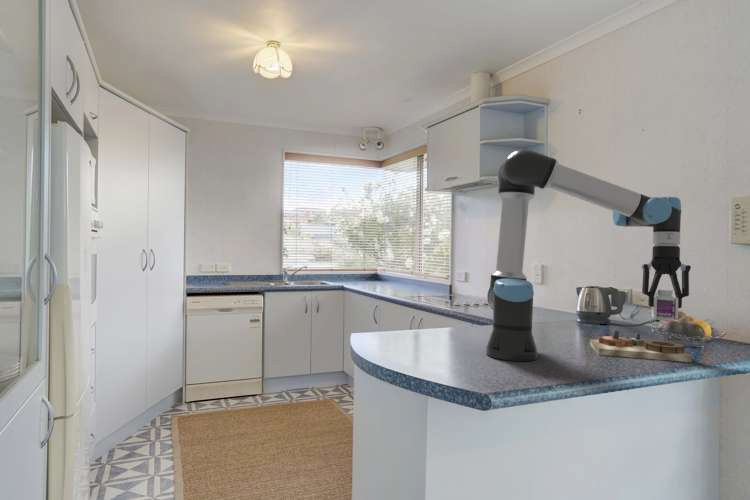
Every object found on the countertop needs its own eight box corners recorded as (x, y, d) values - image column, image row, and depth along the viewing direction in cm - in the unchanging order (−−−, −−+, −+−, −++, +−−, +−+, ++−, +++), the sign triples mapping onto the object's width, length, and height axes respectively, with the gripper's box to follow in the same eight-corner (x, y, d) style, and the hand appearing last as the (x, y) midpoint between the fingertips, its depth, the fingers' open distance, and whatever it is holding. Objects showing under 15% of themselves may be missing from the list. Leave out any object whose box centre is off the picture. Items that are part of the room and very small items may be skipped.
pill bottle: (677, 321, 148) (678, 290, 148) (658, 320, 149) (659, 290, 149) (670, 319, 153) (670, 289, 153) (652, 318, 154) (652, 289, 154)
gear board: (599, 354, 150) (599, 334, 150) (590, 344, 167) (590, 326, 167) (692, 362, 143) (692, 341, 143) (673, 351, 160) (673, 332, 160)
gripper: (637, 244, 150) (635, 317, 150) (703, 245, 145) (702, 321, 145) (631, 245, 157) (629, 314, 157) (694, 246, 152) (692, 317, 152)
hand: (664, 317), depth 151 cm, fingers closed on pill bottle, 5 cm apart
